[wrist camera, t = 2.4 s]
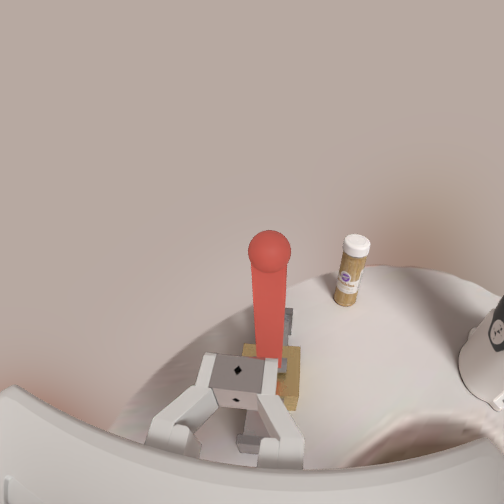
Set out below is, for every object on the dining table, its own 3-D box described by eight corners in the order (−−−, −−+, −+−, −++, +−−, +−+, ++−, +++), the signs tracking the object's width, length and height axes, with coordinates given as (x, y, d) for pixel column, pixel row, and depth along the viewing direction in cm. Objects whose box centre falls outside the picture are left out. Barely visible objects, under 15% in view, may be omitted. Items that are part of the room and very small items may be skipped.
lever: (287, 358, 36) (296, 223, 24) (285, 380, 33) (296, 247, 21) (254, 356, 36) (245, 221, 24) (251, 378, 33) (238, 244, 21)
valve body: (298, 329, 46) (301, 308, 43) (292, 456, 28) (295, 447, 25) (252, 327, 47) (250, 306, 44) (230, 451, 29) (224, 441, 26)
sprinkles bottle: (330, 302, 51) (340, 243, 43) (337, 288, 54) (348, 230, 46) (352, 310, 48) (367, 251, 41) (358, 295, 52) (373, 237, 44)
